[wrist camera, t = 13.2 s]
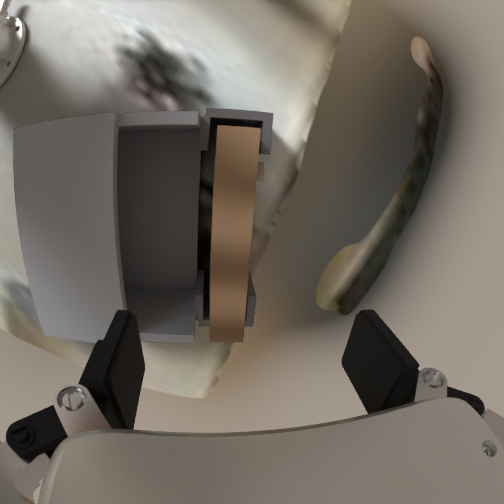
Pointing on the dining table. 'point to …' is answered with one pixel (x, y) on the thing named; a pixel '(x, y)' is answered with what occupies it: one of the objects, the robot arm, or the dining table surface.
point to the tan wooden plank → (232, 228)
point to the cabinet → (118, 220)
